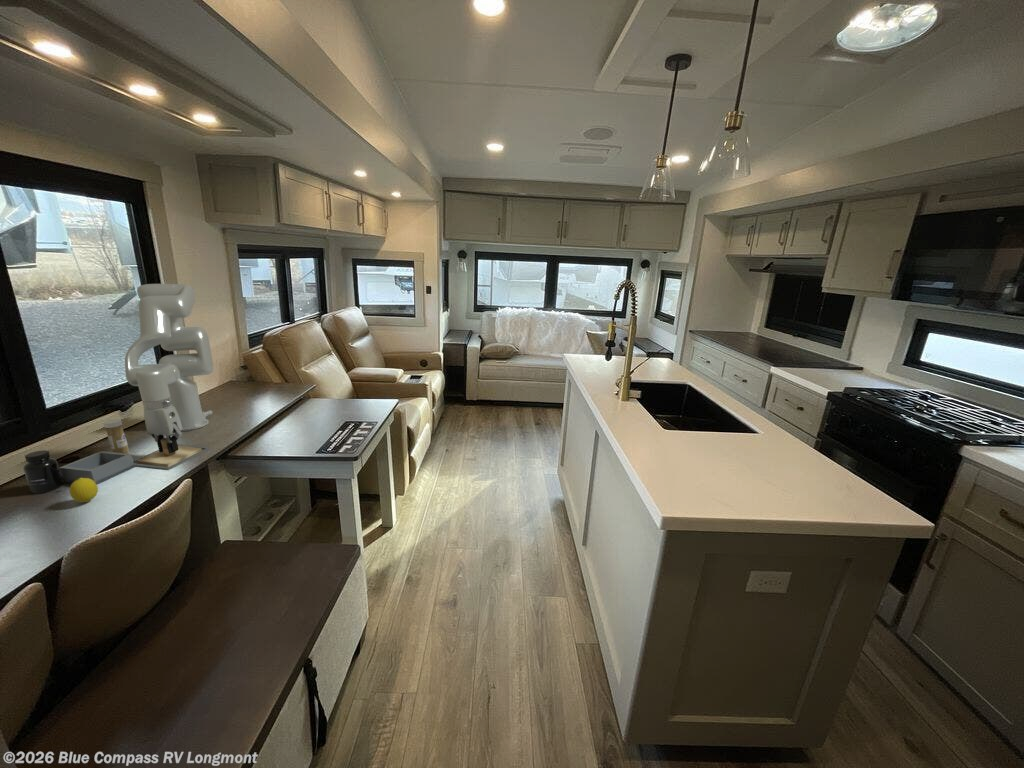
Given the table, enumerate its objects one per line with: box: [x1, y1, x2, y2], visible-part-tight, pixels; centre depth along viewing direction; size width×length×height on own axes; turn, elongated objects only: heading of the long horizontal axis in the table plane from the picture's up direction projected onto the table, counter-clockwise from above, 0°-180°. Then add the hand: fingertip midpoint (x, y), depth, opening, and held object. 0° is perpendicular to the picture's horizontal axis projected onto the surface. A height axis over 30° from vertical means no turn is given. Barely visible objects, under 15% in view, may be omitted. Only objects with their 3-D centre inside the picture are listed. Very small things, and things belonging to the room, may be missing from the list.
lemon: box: [69, 478, 99, 503], centre depth 117 cm, size 6×6×8 cm
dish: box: [59, 450, 136, 486], centre depth 133 cm, size 12×12×5 cm
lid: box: [135, 437, 203, 467], centre depth 145 cm, size 13×13×7 cm
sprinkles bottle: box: [103, 418, 131, 454], centre depth 145 cm, size 5×5×14 cm
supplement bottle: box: [22, 449, 64, 494], centre depth 123 cm, size 7×7×12 cm
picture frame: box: [133, 443, 212, 471], centre depth 146 cm, size 17×17×1 cm
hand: (169, 450), depth 145 cm, fingers closed on lid, 3 cm apart
